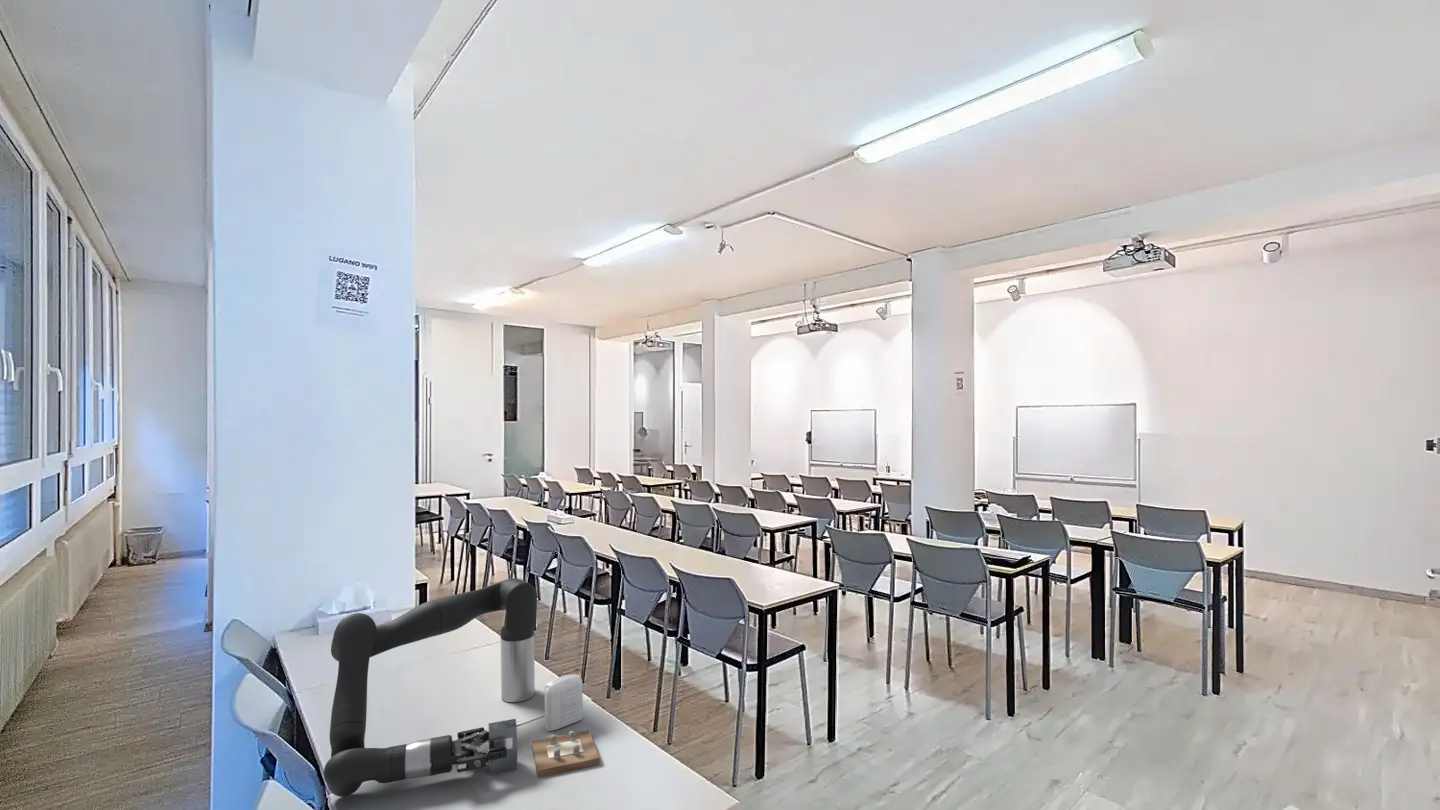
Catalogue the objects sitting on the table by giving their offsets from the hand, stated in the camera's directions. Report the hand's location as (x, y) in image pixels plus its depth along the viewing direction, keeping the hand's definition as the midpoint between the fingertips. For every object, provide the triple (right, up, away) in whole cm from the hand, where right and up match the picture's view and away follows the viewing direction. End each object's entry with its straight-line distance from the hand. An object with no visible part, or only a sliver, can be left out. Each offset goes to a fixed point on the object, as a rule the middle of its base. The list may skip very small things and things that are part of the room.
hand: (505, 742), depth 152 cm
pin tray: (+13, -6, +5) cm, 15 cm away
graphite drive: (-1, -6, 0) cm, 6 cm away
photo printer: (+9, -6, +21) cm, 23 cm away
